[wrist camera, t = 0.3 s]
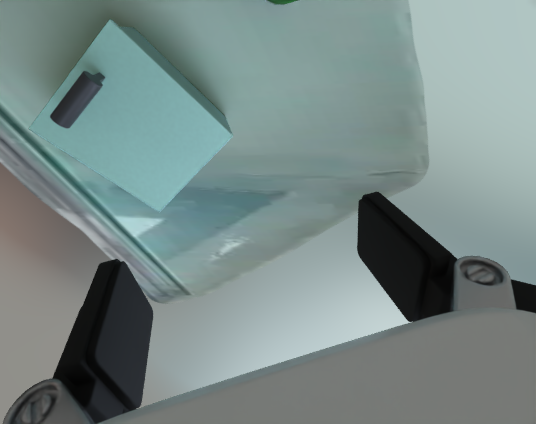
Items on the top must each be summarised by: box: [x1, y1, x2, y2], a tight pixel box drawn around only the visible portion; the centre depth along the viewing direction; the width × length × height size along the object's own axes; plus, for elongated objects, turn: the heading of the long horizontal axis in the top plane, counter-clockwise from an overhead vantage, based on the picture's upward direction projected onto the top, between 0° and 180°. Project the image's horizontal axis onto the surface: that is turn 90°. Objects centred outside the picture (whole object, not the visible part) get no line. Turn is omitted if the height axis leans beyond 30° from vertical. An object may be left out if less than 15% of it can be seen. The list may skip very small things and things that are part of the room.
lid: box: [29, 19, 233, 212], centre depth 32 cm, size 16×15×5 cm
